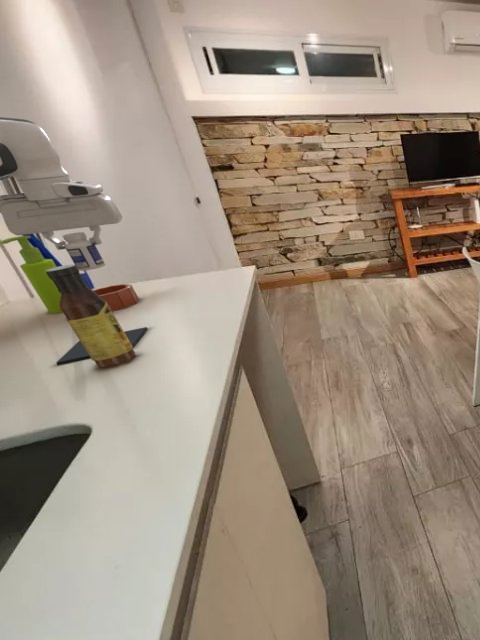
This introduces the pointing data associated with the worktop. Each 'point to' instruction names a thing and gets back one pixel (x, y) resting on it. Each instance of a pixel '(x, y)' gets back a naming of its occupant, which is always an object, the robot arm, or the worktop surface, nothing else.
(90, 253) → the pill bottle
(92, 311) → the sauce bottle
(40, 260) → the soap dispenser
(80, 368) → the worktop surface
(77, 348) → the mat
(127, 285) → the pot
